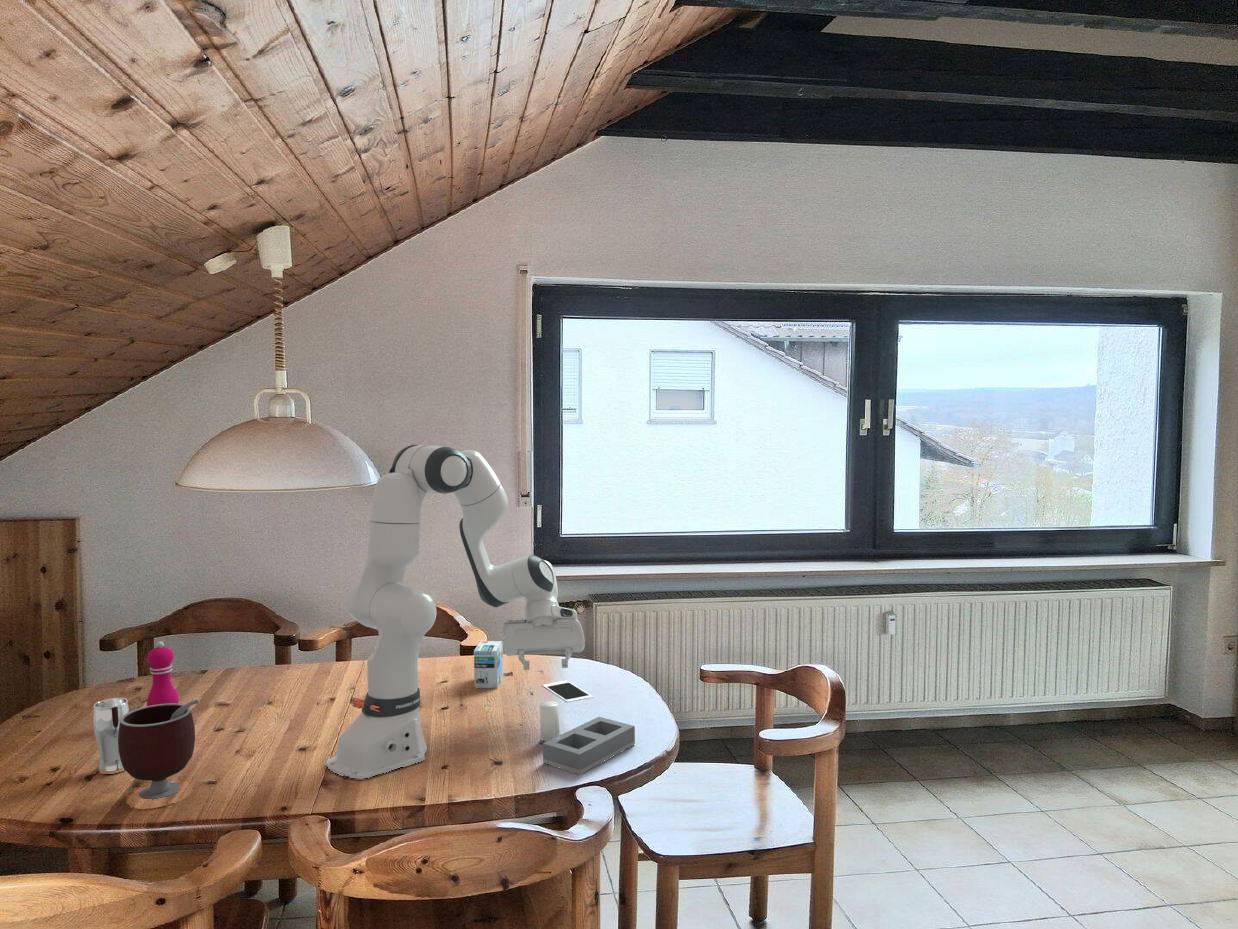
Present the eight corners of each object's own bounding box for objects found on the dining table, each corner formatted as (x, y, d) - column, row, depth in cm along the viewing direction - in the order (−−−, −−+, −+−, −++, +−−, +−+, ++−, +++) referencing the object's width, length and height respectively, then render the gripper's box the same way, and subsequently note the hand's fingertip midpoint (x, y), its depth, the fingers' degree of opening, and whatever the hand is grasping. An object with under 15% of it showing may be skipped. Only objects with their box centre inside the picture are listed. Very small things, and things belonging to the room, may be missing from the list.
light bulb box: (498, 689, 246) (497, 650, 246) (473, 689, 247) (472, 651, 246) (503, 677, 257) (503, 640, 256) (480, 677, 257) (479, 640, 256)
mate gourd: (106, 812, 175) (101, 712, 173) (144, 781, 189) (139, 689, 187) (185, 811, 175) (180, 711, 173) (217, 780, 189) (212, 688, 187)
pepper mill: (151, 725, 221) (147, 646, 220) (144, 718, 227) (140, 641, 225) (183, 718, 226) (179, 641, 224) (174, 711, 231) (171, 635, 230)
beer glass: (108, 763, 199) (104, 697, 197) (139, 763, 198) (135, 697, 197) (88, 776, 192) (85, 708, 190) (120, 776, 191) (116, 708, 190)
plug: (550, 747, 205) (550, 709, 204) (536, 743, 207) (535, 705, 207) (563, 741, 208) (562, 703, 208) (549, 737, 211) (548, 700, 210)
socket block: (580, 775, 189) (579, 754, 189) (543, 763, 196) (542, 743, 195) (634, 745, 205) (634, 726, 205) (599, 735, 212) (598, 716, 211)
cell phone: (567, 682, 253) (567, 680, 253) (593, 698, 239) (593, 696, 239) (542, 687, 249) (542, 684, 249) (567, 704, 235) (567, 701, 235)
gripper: (501, 614, 223) (503, 664, 214) (582, 610, 226) (587, 659, 217) (501, 627, 228) (503, 676, 219) (581, 623, 231) (585, 672, 222)
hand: (545, 668), depth 218 cm, fingers open, 8 cm apart
